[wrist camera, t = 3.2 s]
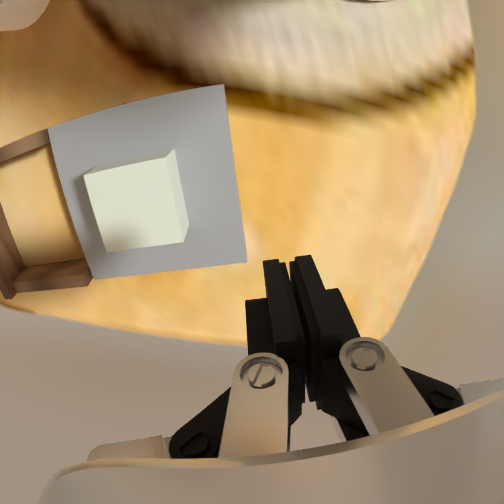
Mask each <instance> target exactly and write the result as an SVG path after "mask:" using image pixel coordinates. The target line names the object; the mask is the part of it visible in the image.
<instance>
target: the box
mask: <svg viewBox="0 0 504 504" xmlns="http://www.w3.org/2000/svg"><path fill="white" fill-rule="evenodd" d="M47 143H50V138H49V133H48V129H44V130H42V131H39V132H36V133H34V134H31V135H29V136H26V137H24V138H21V139H19V140H17V141H14V142H12V143H10V144H8V145H5V146H3V147H1V148H0V162H3V161H5V160H7V159H10V158H12V157H15V156H17V155H20V154H22V153H25V152H27V151H30V150H32V149H35V148H38V147H40V146H43V145H45V144H47ZM92 278H93V275H92V273H91V270H90V268H89V265H88V263H87V260H86V259H80V260H73V261H66V262H59V263H52V264H45V265H38V266H31V267H25V266H24V263H23V261H22V259H21V256H20V254H19V252H18V249H17V247H16V244H15V242H14V239H13V237H12V234H11V232H10V229H9V226H8V224H7V221H6V218H5V215H4V212H3V209H2V206H1V203H0V290H1V292H2V294H3V296H4V298H5V299H12V298H13V297H14V296H15V294H16V293H20V292H31V291H42V290H53V289H63V288H74V287H84V286H88V285H89V283H90V281H91V280H92Z"/></svg>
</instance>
